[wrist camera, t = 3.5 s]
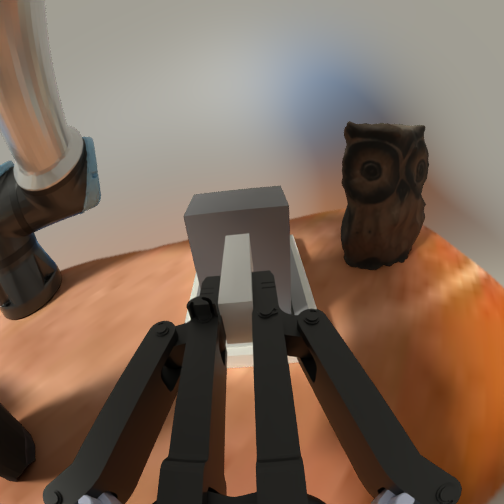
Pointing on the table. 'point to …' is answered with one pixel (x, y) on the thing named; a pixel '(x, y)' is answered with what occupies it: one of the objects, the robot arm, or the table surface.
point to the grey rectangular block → (242, 222)
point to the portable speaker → (14, 447)
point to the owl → (382, 192)
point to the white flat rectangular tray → (300, 301)
